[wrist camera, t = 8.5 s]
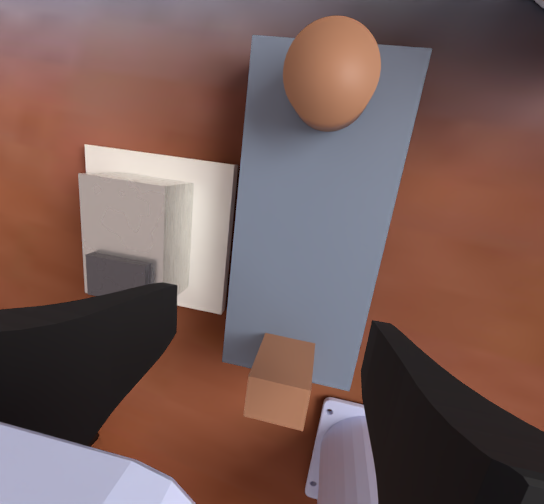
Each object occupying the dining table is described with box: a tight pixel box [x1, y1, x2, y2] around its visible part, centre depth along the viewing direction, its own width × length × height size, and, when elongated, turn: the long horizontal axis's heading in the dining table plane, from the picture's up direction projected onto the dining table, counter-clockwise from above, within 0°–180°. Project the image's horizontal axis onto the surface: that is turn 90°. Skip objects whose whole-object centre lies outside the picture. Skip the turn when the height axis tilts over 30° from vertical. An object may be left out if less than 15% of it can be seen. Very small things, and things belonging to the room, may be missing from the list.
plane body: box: [222, 16, 432, 431], centre depth 16 cm, size 18×8×7 cm, turn 173°
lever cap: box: [78, 172, 194, 296], centre depth 18 cm, size 7×5×4 cm
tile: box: [85, 144, 238, 315], centre depth 21 cm, size 10×10×1 cm
